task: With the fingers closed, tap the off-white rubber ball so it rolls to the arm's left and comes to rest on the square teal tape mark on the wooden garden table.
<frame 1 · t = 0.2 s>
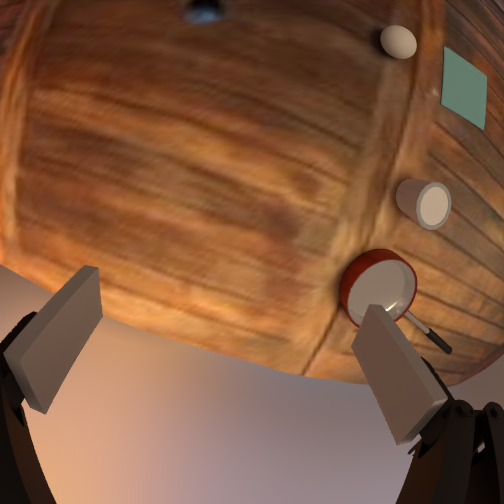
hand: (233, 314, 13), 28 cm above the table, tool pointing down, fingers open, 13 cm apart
white cylinder: (409, 195, 39), on the table
ball: (398, 41, 28), on the table
frying pan: (405, 303, 47), on the table
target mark: (465, 88, 32), on the table
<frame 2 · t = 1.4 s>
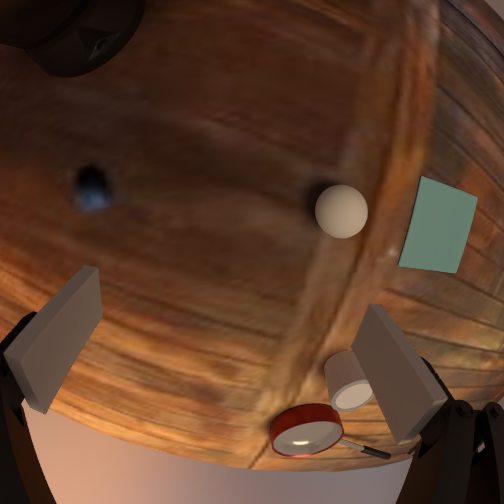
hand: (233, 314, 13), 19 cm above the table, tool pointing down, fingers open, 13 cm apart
white cylinder: (340, 363, 40), on the table
ball: (341, 211, 28), on the table
frying pan: (341, 428, 47), on the table
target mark: (441, 229, 32), on the table
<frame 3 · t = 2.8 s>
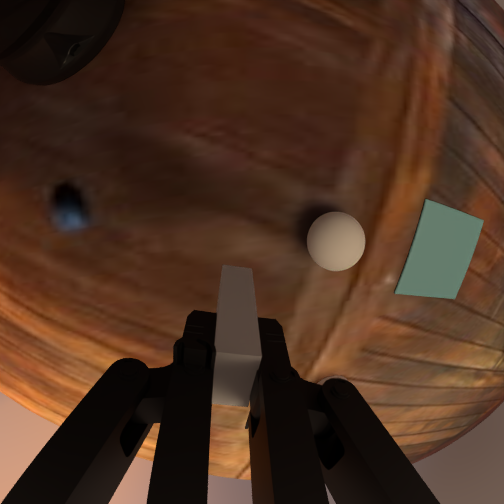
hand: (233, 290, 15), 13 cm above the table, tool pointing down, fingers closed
ball: (336, 241, 26), on the table
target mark: (443, 254, 30), on the table
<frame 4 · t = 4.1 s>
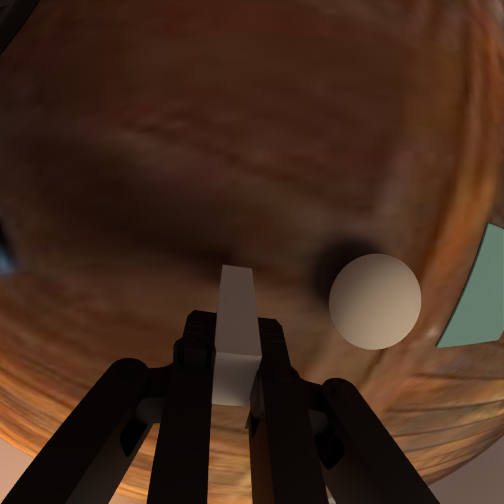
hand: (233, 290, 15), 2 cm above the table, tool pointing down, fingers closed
ball: (375, 301, 15), on the table
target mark: (496, 292, 19), on the table
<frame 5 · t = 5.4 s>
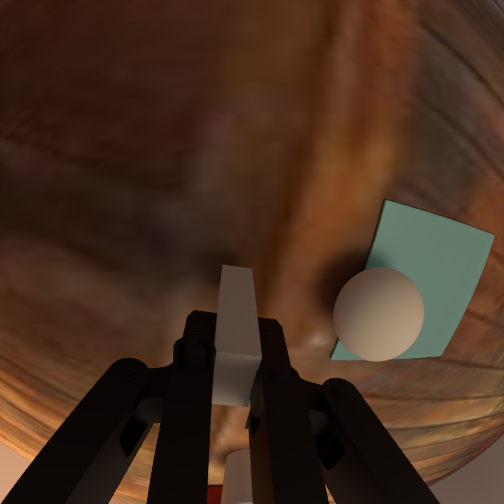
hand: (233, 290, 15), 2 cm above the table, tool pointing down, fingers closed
white cylinder: (251, 457, 26), on the table
ball: (379, 314, 15), on the table
frying pan: (278, 500, 34), on the table
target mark: (423, 295, 18), on the table
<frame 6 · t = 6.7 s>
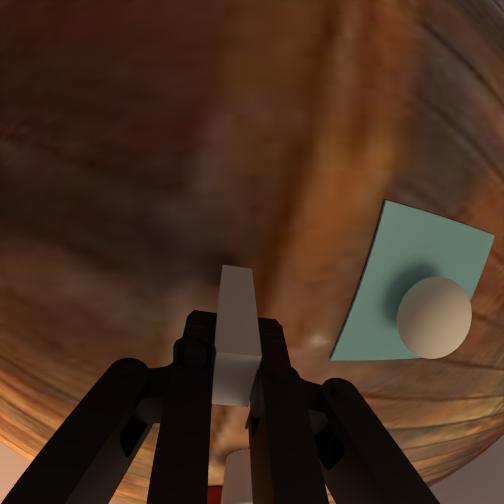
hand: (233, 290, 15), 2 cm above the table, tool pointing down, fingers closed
white cylinder: (251, 457, 26), on the table
ball: (434, 317, 16), on the table
frying pan: (279, 500, 34), on the table
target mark: (423, 295, 18), on the table
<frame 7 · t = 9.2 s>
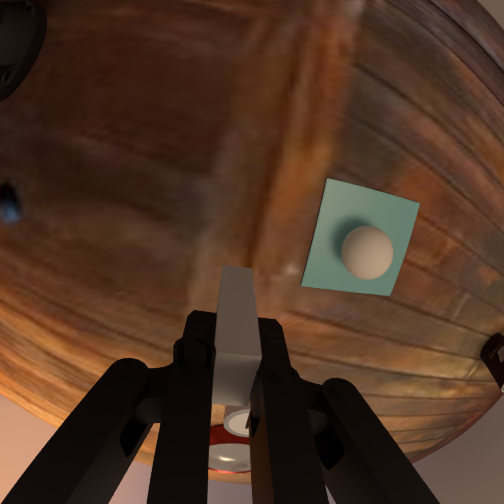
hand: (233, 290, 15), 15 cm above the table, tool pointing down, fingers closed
coffee mug: (494, 342, 39), on the table
white cylinder: (248, 385, 37), on the table
ball: (367, 252, 27), on the table
frying pan: (276, 449, 45), on the table
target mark: (363, 242, 30), on the table
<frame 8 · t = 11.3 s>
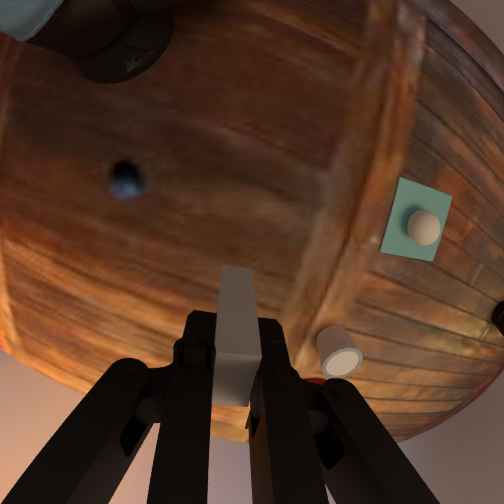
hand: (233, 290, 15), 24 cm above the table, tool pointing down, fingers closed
coffee mug: (501, 308, 50), on the table
white cylinder: (331, 337, 47), on the table
ball: (424, 227, 37), on the table
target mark: (418, 222, 40), on the table
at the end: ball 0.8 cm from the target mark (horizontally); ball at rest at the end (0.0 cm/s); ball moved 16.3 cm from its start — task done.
